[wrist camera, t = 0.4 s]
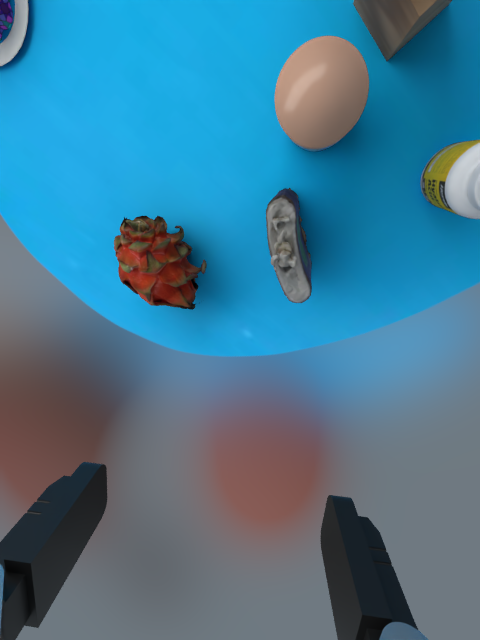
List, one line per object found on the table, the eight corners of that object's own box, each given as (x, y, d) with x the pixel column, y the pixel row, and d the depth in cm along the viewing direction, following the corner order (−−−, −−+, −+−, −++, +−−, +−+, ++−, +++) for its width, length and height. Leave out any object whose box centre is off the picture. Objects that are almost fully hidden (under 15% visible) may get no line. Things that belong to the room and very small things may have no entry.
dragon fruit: (150, 200, 37) (208, 281, 42) (89, 242, 35) (157, 321, 40) (162, 188, 29) (232, 289, 34) (85, 242, 28) (170, 340, 33)
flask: (314, 271, 35) (314, 310, 25) (288, 276, 36) (278, 316, 26) (297, 184, 31) (290, 192, 22) (268, 192, 32) (250, 204, 23)
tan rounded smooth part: (274, 97, 29) (260, 71, 21) (340, 57, 26) (352, 12, 19) (298, 163, 31) (294, 163, 23) (361, 131, 28) (380, 118, 20)
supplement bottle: (405, 180, 29) (444, 186, 21) (460, 127, 27) (531, 110, 18) (443, 220, 30) (495, 242, 22) (500, 173, 28) (585, 176, 19)
